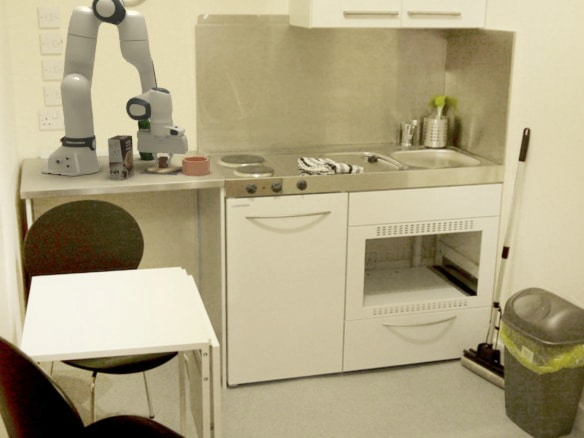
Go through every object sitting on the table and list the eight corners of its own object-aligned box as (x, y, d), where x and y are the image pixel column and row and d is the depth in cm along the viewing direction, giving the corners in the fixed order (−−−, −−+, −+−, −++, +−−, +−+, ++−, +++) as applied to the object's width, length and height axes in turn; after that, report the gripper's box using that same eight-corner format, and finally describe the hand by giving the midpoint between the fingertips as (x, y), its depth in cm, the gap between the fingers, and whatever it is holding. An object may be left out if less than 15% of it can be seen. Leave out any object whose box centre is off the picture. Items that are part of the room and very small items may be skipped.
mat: (139, 174, 294) (139, 173, 294) (151, 166, 308) (151, 165, 308) (176, 176, 292) (176, 175, 292) (187, 168, 306) (186, 166, 306)
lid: (142, 173, 294) (141, 160, 293) (152, 165, 307) (152, 153, 305) (174, 174, 293) (174, 161, 291) (183, 167, 305) (183, 154, 304)
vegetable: (159, 160, 320) (157, 113, 314) (145, 162, 315) (143, 115, 309) (149, 157, 325) (147, 111, 319) (135, 160, 320) (133, 113, 314)
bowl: (180, 176, 292) (179, 161, 290) (187, 170, 302) (187, 156, 300) (205, 177, 291) (205, 162, 289) (211, 171, 300) (211, 157, 298)
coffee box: (125, 181, 283) (123, 139, 279) (109, 180, 285) (106, 138, 280) (135, 176, 292) (132, 135, 287) (119, 175, 293) (117, 134, 288)
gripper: (133, 130, 293) (135, 164, 297) (184, 131, 291) (185, 166, 295) (139, 127, 299) (140, 161, 303) (188, 129, 297) (189, 163, 301)
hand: (163, 163), depth 299 cm, fingers closed on lid, 3 cm apart
